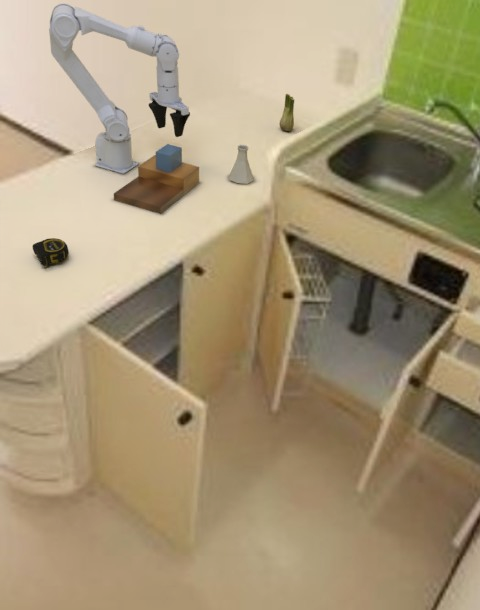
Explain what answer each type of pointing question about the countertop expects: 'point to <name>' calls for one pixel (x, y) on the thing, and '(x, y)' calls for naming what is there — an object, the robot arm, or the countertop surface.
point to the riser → (158, 186)
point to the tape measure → (51, 251)
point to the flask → (241, 167)
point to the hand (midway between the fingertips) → (170, 131)
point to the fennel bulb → (287, 114)
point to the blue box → (168, 158)
